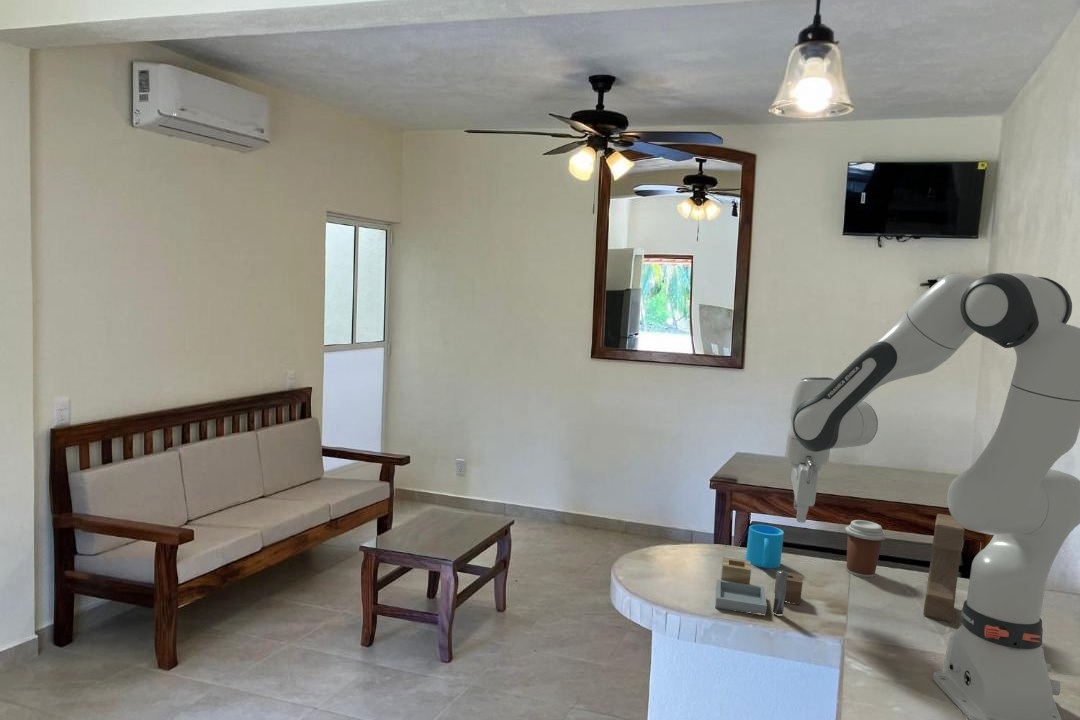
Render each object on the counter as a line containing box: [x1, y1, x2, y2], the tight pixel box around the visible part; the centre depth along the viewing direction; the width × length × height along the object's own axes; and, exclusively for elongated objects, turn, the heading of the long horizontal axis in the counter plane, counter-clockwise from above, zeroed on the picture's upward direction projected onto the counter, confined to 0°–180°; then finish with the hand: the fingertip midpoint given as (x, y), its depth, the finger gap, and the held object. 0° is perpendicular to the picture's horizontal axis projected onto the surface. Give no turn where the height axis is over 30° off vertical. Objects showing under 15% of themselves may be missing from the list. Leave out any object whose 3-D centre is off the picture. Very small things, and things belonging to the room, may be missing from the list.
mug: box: [745, 524, 785, 569], centre depth 198 cm, size 12×8×8 cm
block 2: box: [773, 570, 803, 605], centre depth 177 cm, size 5×5×5 cm
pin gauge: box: [772, 569, 789, 615], centre depth 167 cm, size 2×2×9 cm
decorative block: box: [922, 513, 965, 623], centre depth 176 cm, size 11×6×20 cm, turn 151°
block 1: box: [720, 556, 752, 585], centre depth 183 cm, size 6×6×5 cm
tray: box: [714, 579, 768, 615], centre depth 173 cm, size 11×10×2 cm
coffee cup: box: [845, 519, 887, 579], centre depth 198 cm, size 9×9×12 cm
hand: (799, 515), depth 176 cm, fingers open, 8 cm apart
